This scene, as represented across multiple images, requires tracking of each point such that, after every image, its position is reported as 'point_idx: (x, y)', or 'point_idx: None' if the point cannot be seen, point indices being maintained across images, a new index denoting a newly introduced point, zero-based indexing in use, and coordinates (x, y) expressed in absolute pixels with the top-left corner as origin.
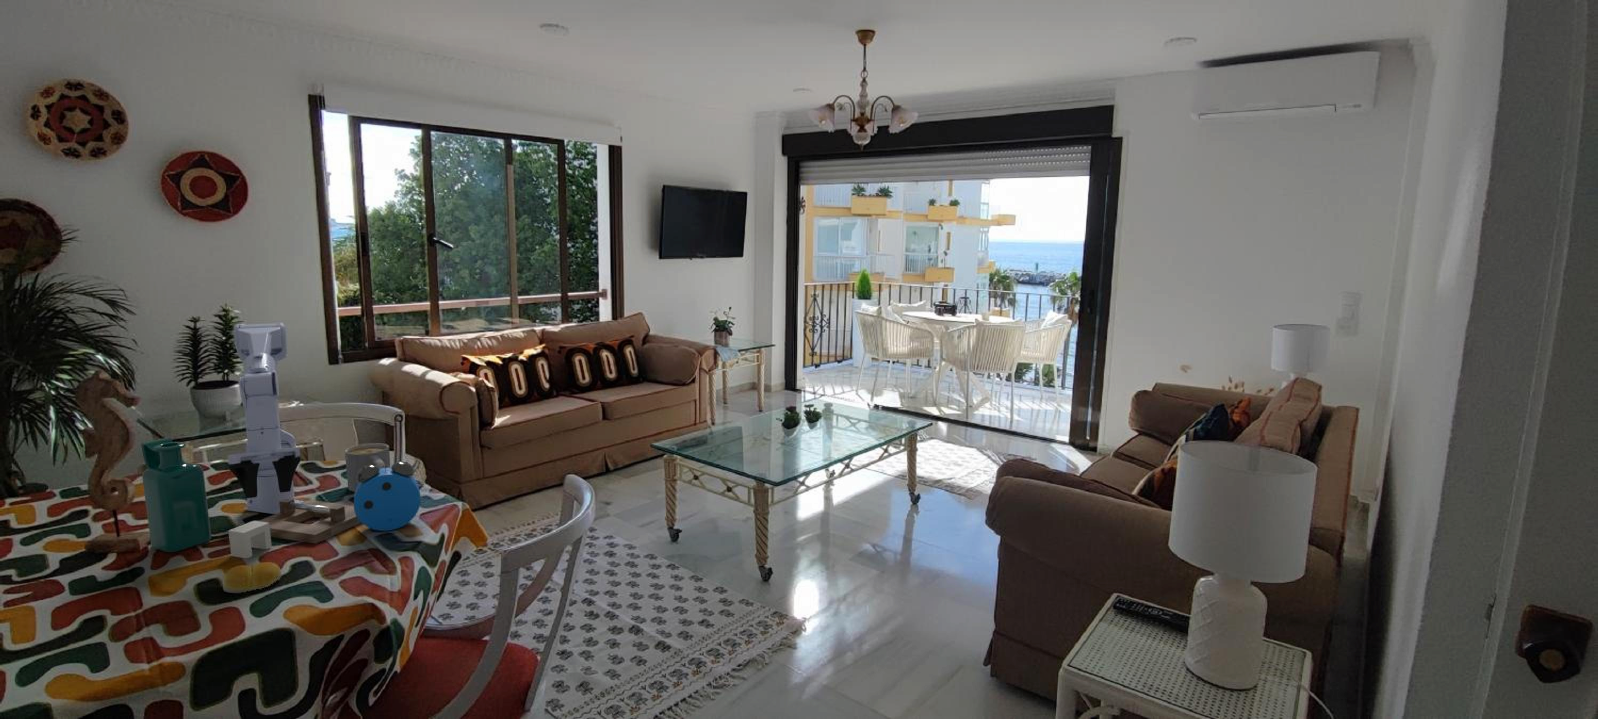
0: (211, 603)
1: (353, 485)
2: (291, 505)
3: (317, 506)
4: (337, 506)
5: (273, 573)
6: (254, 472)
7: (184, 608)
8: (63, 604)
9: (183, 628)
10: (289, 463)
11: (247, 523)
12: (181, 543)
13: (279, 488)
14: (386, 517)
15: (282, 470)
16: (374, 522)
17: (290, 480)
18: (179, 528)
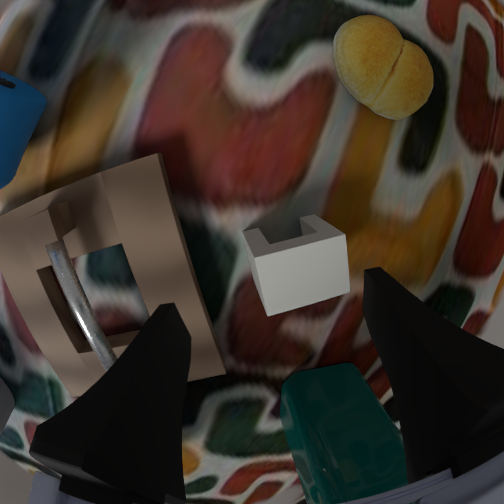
0: (443, 70)
1: (2, 393)
2: None
3: (75, 300)
4: (37, 236)
5: (368, 15)
6: (462, 352)
7: (464, 97)
8: (490, 274)
9: (477, 46)
10: (114, 440)
11: (292, 306)
12: (346, 370)
13: (189, 355)
14: (5, 76)
15: (159, 428)
16: (29, 88)
17: (142, 342)
18: (360, 392)
